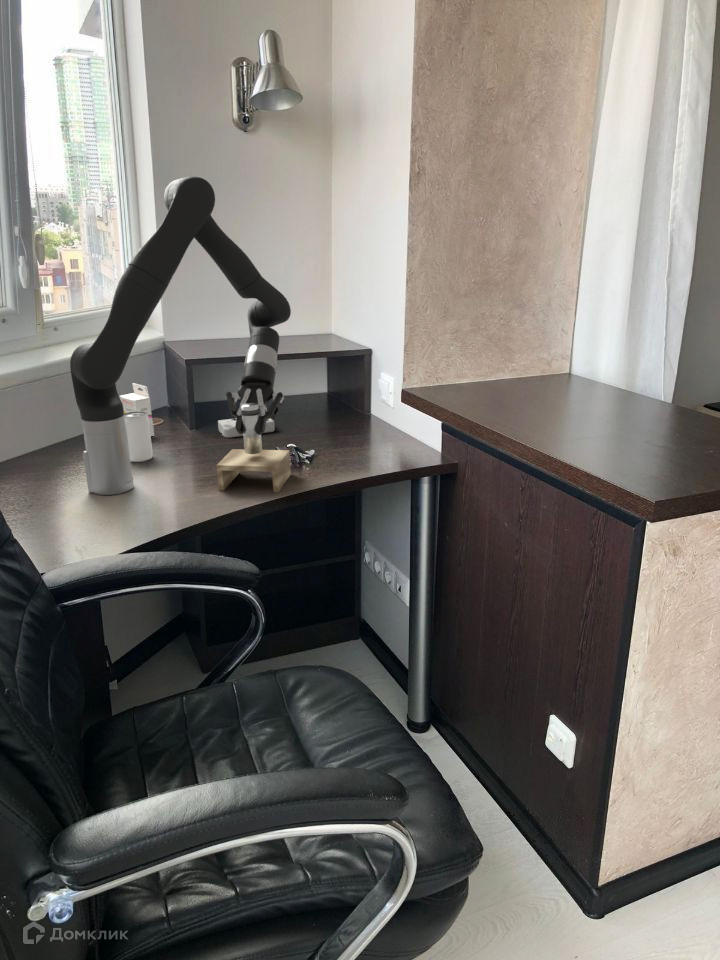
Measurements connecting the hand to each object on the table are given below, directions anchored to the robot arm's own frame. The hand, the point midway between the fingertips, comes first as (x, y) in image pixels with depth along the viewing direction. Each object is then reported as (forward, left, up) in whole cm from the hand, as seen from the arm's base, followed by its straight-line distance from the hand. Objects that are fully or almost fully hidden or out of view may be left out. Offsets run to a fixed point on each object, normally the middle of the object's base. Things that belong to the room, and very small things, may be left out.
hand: (249, 432), depth 170 cm
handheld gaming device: (-14, +44, -13) cm, 48 cm away
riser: (0, +2, -13) cm, 13 cm away
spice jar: (0, +2, -5) cm, 5 cm away
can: (-35, +17, -13) cm, 41 cm away
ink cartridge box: (-44, +37, -13) cm, 59 cm away
